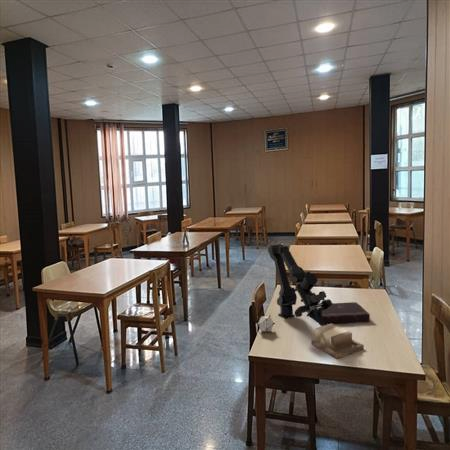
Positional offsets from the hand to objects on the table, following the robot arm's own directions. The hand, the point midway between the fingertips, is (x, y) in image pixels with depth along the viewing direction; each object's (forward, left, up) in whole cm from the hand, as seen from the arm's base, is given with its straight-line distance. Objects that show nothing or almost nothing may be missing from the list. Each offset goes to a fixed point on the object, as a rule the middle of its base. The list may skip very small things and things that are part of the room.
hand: (322, 324), depth 166 cm
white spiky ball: (-20, -17, -7) cm, 27 cm away
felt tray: (+9, 0, -7) cm, 11 cm away
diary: (-15, +24, -7) cm, 30 cm away
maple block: (0, 0, -3) cm, 3 cm away
